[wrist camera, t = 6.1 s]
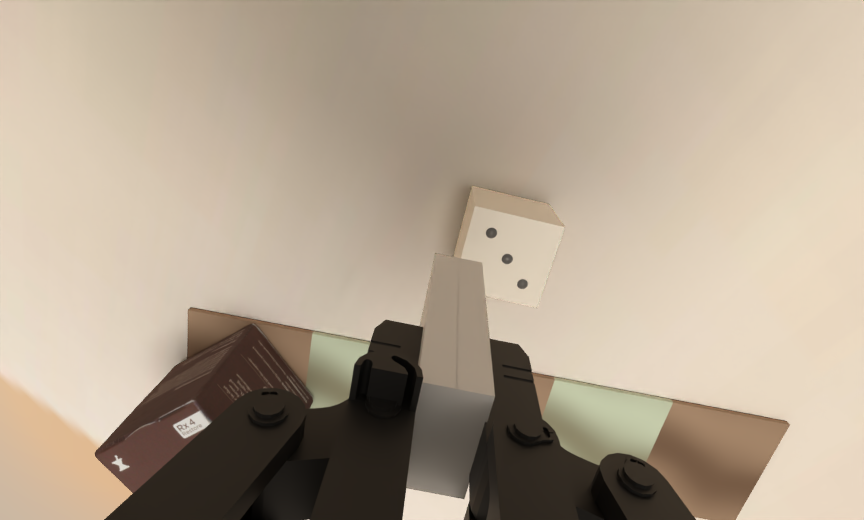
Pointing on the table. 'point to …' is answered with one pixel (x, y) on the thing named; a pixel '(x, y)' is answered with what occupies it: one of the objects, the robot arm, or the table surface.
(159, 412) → the box
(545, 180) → the table surface
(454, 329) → the robot arm
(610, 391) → the track
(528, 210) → the die
